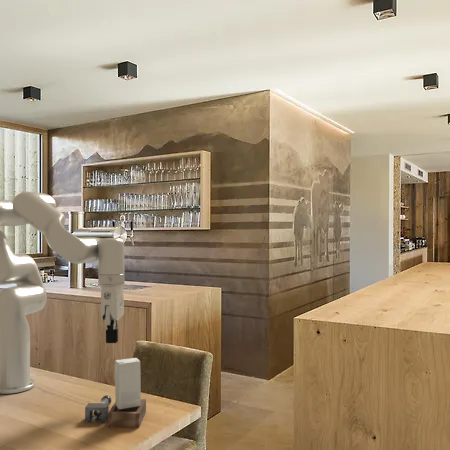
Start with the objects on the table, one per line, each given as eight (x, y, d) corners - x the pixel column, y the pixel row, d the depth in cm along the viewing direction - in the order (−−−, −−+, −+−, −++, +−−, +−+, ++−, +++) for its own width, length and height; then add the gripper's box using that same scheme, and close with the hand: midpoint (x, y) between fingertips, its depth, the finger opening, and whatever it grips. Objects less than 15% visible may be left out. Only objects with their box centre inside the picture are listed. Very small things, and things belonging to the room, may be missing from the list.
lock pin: (92, 417, 127) (92, 407, 127) (101, 405, 136) (101, 395, 136) (103, 417, 127) (103, 407, 127) (111, 405, 136) (111, 395, 136)
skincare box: (136, 401, 130) (137, 356, 130) (141, 407, 125) (141, 360, 126) (114, 404, 127) (114, 359, 127) (117, 410, 123) (118, 363, 123)
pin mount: (85, 422, 124) (85, 407, 124) (88, 417, 127) (88, 403, 127) (105, 422, 124) (105, 407, 124) (108, 417, 127) (108, 403, 127)
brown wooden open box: (107, 427, 121) (107, 413, 121) (116, 411, 131) (117, 399, 131) (139, 427, 121) (139, 413, 121) (145, 412, 131) (146, 399, 131)
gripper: (118, 282, 133) (118, 348, 133) (129, 277, 148) (129, 336, 148) (91, 283, 133) (92, 349, 133) (105, 277, 148) (105, 336, 148)
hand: (111, 342), depth 140 cm, fingers closed
